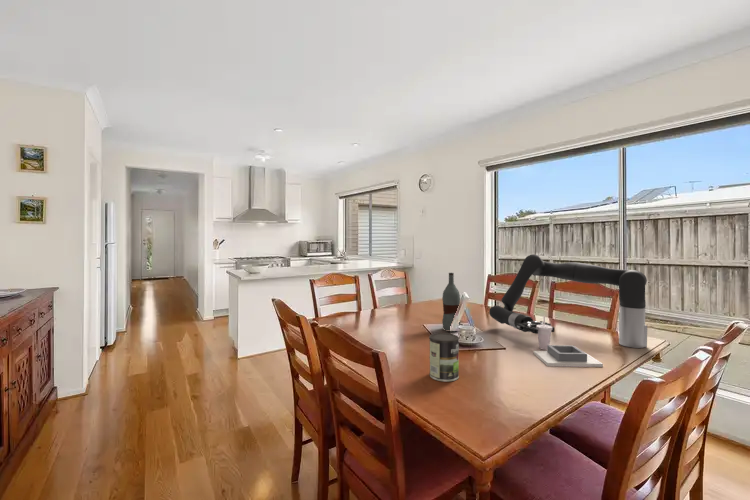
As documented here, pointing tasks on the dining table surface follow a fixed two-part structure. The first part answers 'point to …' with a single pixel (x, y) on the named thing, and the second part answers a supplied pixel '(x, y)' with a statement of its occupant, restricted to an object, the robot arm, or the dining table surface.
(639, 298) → the robot arm
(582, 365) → the socket stand
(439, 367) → the coffee can
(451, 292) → the dark grey tall bottle
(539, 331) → the smoothie
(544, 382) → the dining table surface
